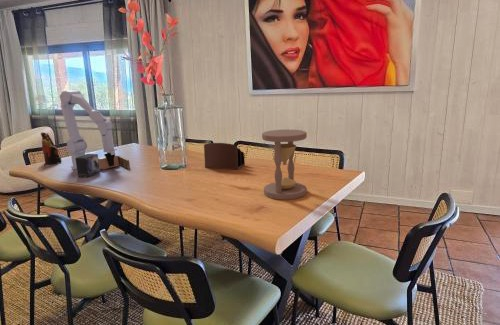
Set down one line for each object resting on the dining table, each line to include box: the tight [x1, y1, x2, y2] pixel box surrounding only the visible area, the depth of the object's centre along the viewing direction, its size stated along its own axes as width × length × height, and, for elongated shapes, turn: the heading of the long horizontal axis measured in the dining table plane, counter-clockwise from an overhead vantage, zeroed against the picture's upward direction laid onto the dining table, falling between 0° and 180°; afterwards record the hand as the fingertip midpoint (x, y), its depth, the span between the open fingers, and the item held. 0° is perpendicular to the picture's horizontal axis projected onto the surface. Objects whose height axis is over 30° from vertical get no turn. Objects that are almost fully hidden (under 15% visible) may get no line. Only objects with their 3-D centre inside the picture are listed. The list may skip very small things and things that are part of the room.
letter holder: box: [203, 142, 246, 171], centre depth 187 cm, size 10×20×14 cm, turn 69°
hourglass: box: [261, 129, 308, 201], centre depth 138 cm, size 18×18×25 cm
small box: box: [75, 153, 101, 178], centre depth 182 cm, size 11×6×10 cm, turn 168°
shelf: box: [116, 155, 131, 170], centre depth 194 cm, size 17×14×5 cm
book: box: [98, 154, 120, 170], centre depth 196 cm, size 5×10×6 cm, turn 142°
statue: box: [40, 131, 62, 165], centre depth 214 cm, size 12×8×20 cm, turn 49°
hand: (111, 165), depth 194 cm, fingers closed, pressing on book
